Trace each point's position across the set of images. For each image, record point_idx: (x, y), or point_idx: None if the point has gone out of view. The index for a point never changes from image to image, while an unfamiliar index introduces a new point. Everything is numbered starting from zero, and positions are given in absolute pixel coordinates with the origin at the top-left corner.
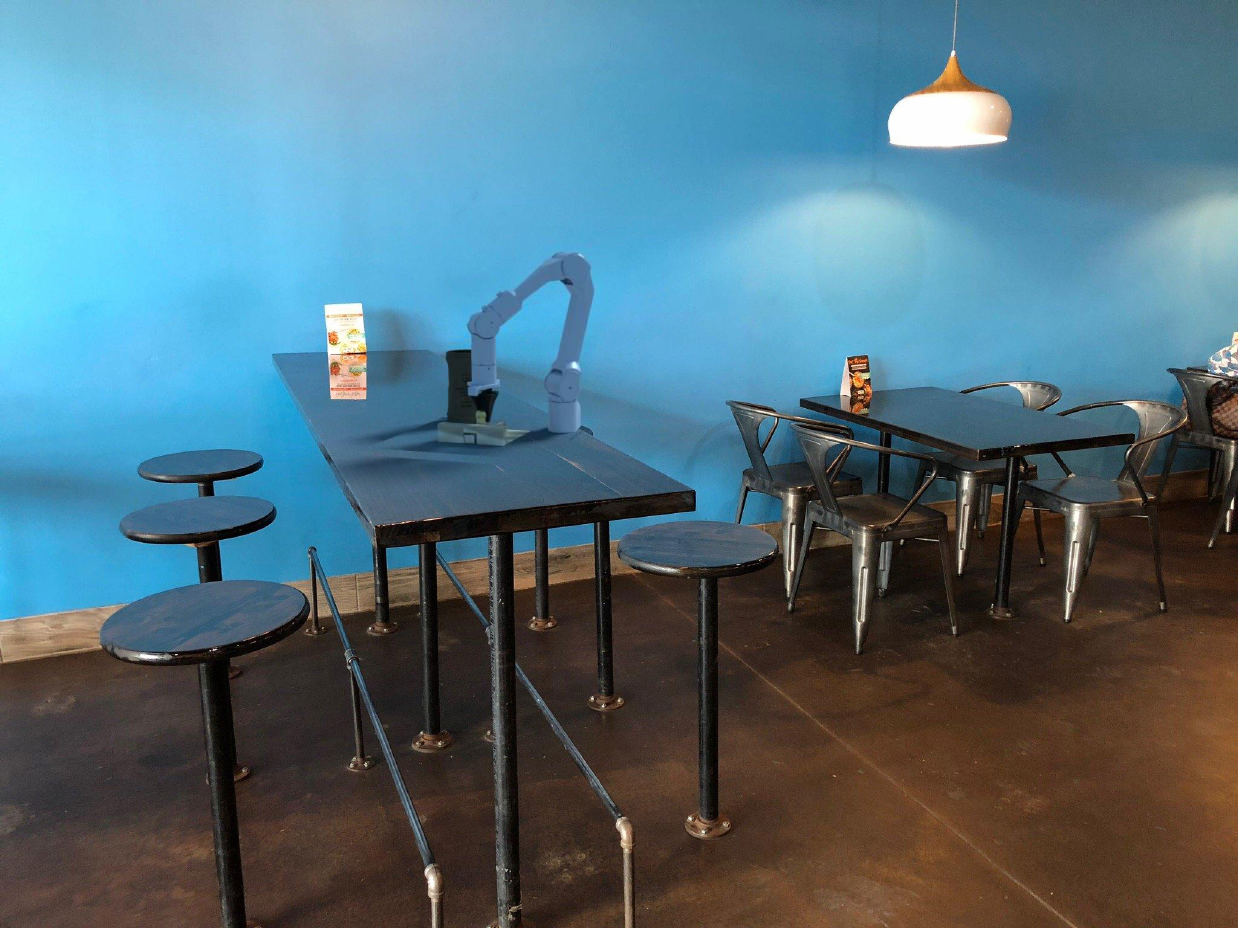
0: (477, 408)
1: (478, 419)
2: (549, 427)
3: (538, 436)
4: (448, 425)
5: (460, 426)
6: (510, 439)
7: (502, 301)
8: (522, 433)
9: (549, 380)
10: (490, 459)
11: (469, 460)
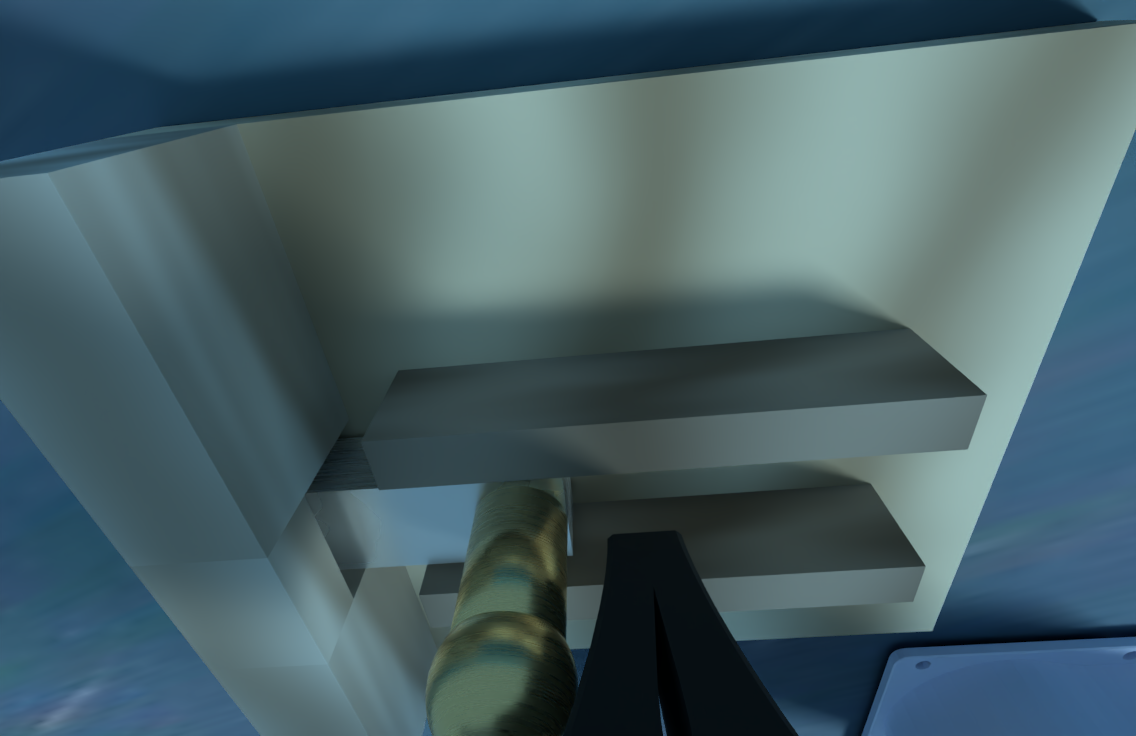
0: (574, 722)
1: (451, 627)
2: (962, 731)
3: (939, 614)
4: (6, 386)
5: (118, 528)
6: (573, 631)
7: None
8: (820, 622)
9: None
10: (175, 626)
11: (51, 556)
